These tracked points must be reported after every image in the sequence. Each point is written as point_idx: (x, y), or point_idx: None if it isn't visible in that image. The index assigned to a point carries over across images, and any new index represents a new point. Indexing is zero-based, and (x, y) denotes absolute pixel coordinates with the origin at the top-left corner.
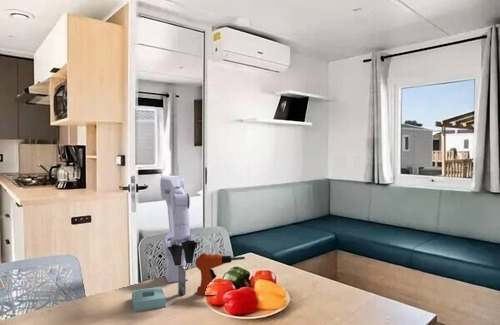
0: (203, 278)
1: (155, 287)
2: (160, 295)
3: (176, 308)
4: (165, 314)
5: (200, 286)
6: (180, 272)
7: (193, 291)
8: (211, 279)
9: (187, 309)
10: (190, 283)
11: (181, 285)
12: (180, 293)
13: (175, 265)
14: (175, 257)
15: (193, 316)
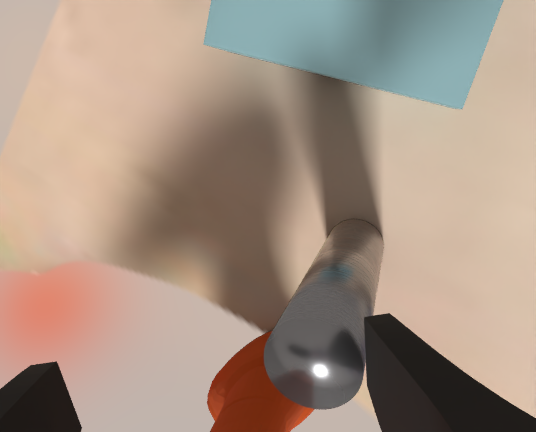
0: (228, 425)
1: (480, 46)
2: (267, 22)
3: (173, 107)
4: (133, 8)
5: None
6: (295, 299)
7: None
8: None
9: (131, 158)
10: None
11: (317, 255)
12: (334, 229)
13: (375, 315)
14: (421, 417)
15: (48, 144)
